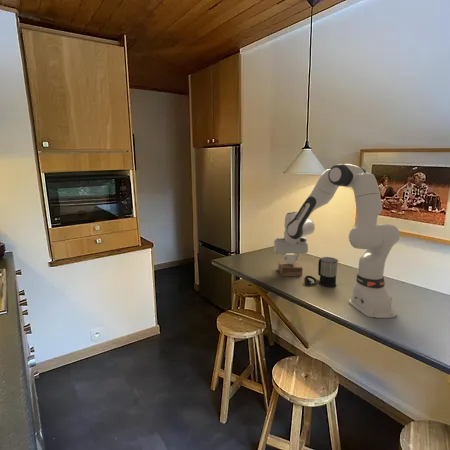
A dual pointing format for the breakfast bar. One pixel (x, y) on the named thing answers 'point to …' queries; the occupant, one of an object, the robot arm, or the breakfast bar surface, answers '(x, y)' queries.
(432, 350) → the breakfast bar surface
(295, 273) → the walnut base
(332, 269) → the milk frother
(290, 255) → the cube
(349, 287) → the breakfast bar surface
